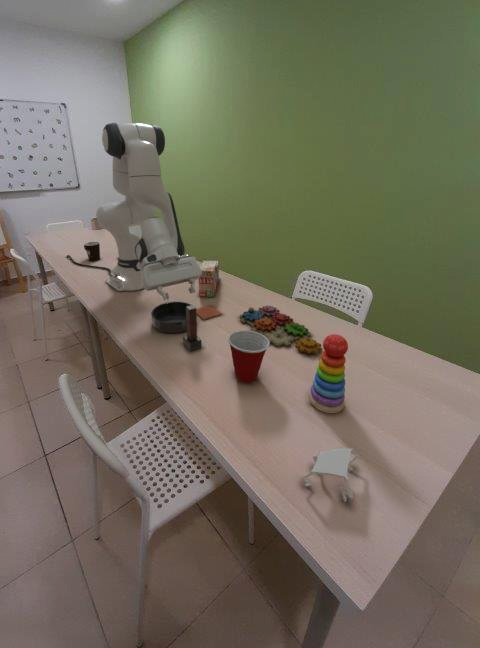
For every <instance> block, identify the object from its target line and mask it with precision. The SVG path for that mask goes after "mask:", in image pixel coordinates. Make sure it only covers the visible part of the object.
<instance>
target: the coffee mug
mask: <svg viewBox="0 0 480 648" xmlns="http://www.w3.org/2000/svg"><path fill="white" fill-rule="evenodd" d="M100 247H101V246H100V242H99V241H89V242H85V243H84V244H83V249H84V251H86V255H87V258H88V261H89V262H97V261H100V260H101V249H100Z"/></svg>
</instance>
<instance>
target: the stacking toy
mask: <svg viewBox="0 0 480 648" xmlns="http://www.w3.org/2000/svg"><path fill="white" fill-rule="evenodd" d="M322 349H323V352H322V353H321V355H320V357H321V358H320V359H319V360H318V365H317V367H316V372H315V375H314V378H313V380H312V385H311V387H310V391H309V392H308V399H309V402H310V403H311V404H312V406H313V407H315V408H316V409H317V410H319V411H321V412H323V413H326V414H327V413H328V414H336V413H339V412H341V411H342V410H343V409H344V408H345V393H346V378H345V377H346V373H345V371H346V365H345V364H346V361H347V360H346V356H345V355H346V354H347V352H348V350H349V343H348V341H347V340H346V338H345V337H343V336H342V335H340V334H337V333H333V334H328V335H327V336H326V337H325V338H324V340H323V342H322Z"/></svg>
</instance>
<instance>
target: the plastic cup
mask: <svg viewBox="0 0 480 648" xmlns="http://www.w3.org/2000/svg"><path fill="white" fill-rule="evenodd" d="M227 342H228V344H229V347H230V351H231V358H232V366H233V369H234V375H235V378H236V380H237V381H239V382H242V383H244V384H249V383H253V382H256V380H257V378H258V375H259V371H260V369H261V366H262V363H263V359H264V356H265V355H266V352H267V350H268V349H269V347H270V344H271V343H270V342H269V340H268V339H267V337H265V336H264V335H262V334H260V333H259V332H254V331H252V330H248V329H243V330H236V331H233V332H231V333H230V334H228V336H227Z"/></svg>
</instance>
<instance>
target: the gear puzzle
mask: <svg viewBox="0 0 480 648" xmlns="http://www.w3.org/2000/svg"><path fill="white" fill-rule="evenodd" d="M239 318H240V322H241V323H242V324H245V323H246V324H248V326H251V331H254V332H257V333H260V334H262V335H264V336H265V337H267V339H268V340H269V342H270V344H273V345H274V346H275V347H280V346H281V347H282V346H284V347H289V346H291V345H292V343H293V342H294V344H295V345H294V348H295V349H299V352H302V353H303V352H305V353H306V354H307V355H310V354H317V355H318V352H322V351H323V347H322V343H319V342H317V340H316V339H313V338H309V337H310V336H311V335H312V333H311V332H310V331H309V329H308V328H307V327H305V324H299V323H298V322H294V319H293V318H291V316H290V315H287V314H284V313H280V309H277V307H275V306H273V305H263V306H262V307H259V308H258V309H257V310H256V309H254V307H252V306H250V307H249V308H248V310H247V311H243V313H242V314H240V315H239Z"/></svg>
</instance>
